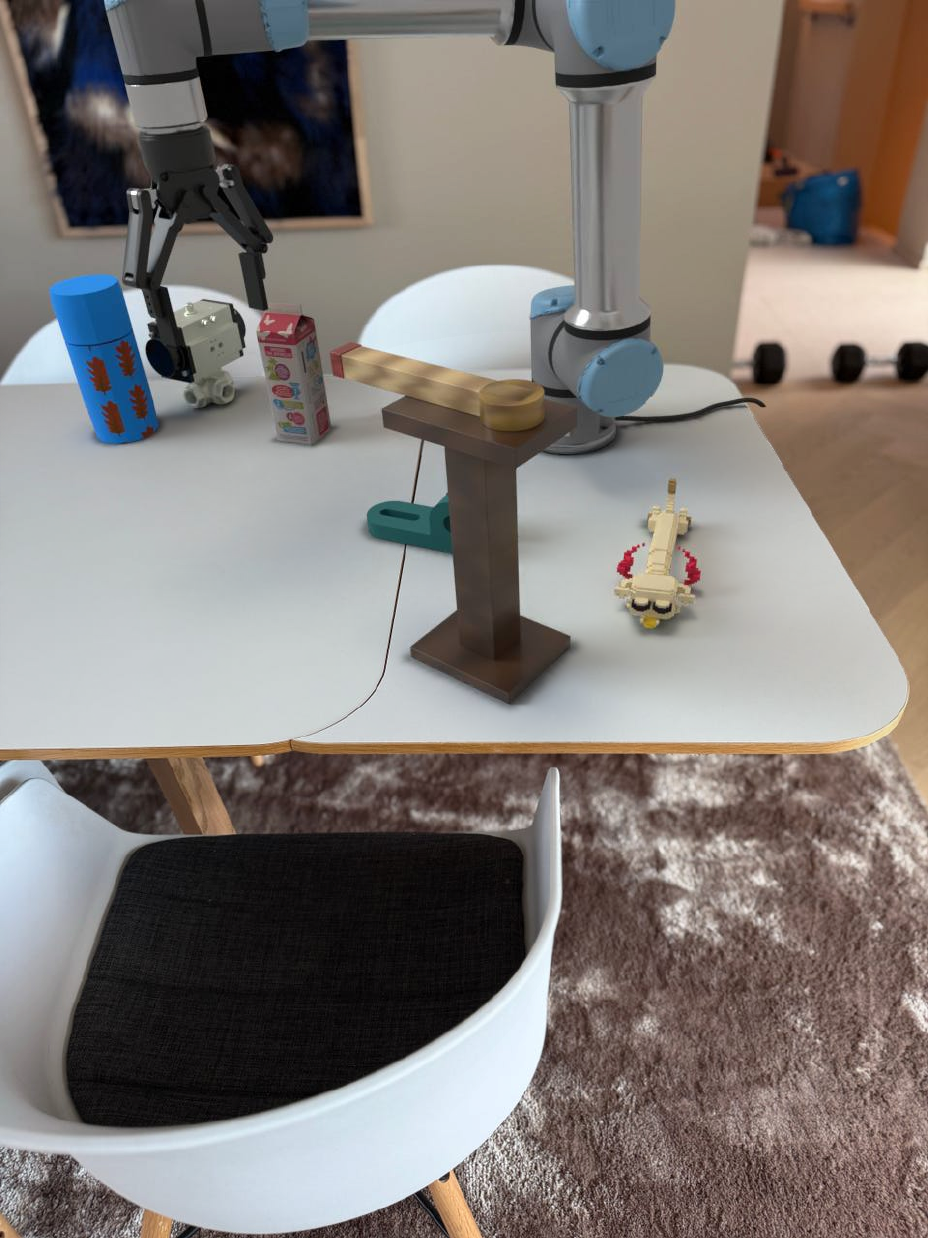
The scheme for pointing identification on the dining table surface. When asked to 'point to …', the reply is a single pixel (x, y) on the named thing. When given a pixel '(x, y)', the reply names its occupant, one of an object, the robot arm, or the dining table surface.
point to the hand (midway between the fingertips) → (217, 325)
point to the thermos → (105, 357)
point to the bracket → (412, 524)
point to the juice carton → (293, 374)
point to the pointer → (444, 387)
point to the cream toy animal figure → (659, 568)
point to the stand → (485, 546)
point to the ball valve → (200, 351)
